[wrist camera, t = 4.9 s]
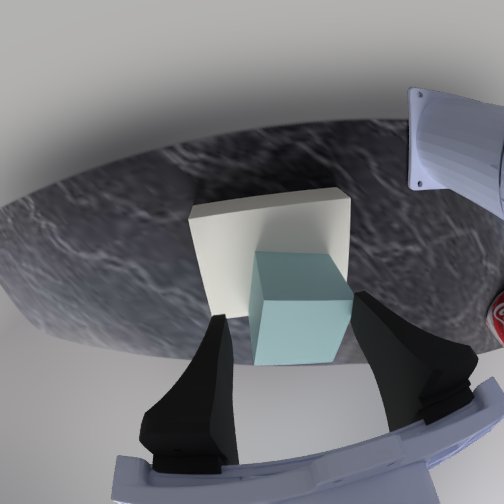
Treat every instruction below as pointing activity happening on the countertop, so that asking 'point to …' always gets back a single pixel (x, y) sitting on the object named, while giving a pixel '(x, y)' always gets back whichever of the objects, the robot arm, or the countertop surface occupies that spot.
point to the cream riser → (264, 238)
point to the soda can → (497, 318)
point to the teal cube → (297, 308)
